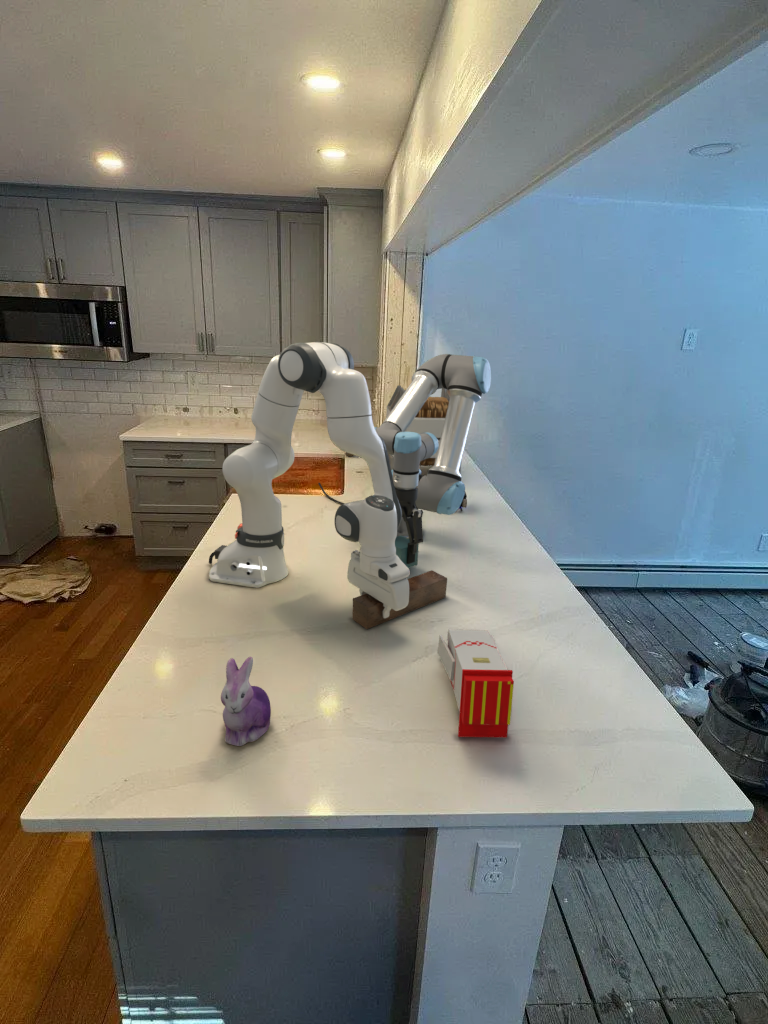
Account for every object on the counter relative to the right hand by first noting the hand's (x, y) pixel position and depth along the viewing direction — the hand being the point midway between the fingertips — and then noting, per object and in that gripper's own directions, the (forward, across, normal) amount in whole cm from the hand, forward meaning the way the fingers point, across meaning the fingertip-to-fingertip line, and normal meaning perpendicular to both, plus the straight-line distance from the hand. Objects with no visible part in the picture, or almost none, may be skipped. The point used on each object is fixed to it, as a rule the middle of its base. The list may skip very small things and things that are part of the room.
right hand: (400, 557), depth 172 cm
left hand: (+2, +18, -25) cm, 31 cm away
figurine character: (+3, -29, +57) cm, 64 cm away
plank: (+4, +18, -16) cm, 24 cm away
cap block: (+2, 0, 0) cm, 2 cm away
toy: (+4, +53, -28) cm, 60 cm away
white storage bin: (+3, -74, +80) cm, 109 cm away
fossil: (+3, -121, +78) cm, 144 cm away
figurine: (+4, +35, -70) cm, 78 cm away
